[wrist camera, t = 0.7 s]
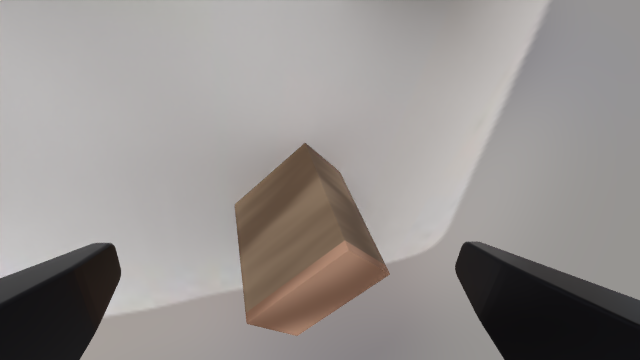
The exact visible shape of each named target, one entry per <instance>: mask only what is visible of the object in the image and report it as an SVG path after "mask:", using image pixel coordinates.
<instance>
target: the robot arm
mask: <svg viewBox="0 0 640 360" xmlns="http://www.w3.org/2000/svg"><path fill="white" fill-rule="evenodd" d="M455 270H456V274H457V277H458V279H459V280H460V282H461V284H462V286H463V289H464V291H465V292H466V295H467V297H468V299H469V300H470V303H471V305H472V306H473V308H474V311H475V313H476V314H477V316H478V318H479V320H480V321H481V323H482V325H483V326H484V328H485V330H486V331H487V333H488V334H489V336H490V337H491V339H492V341H493V342H494V344H495V345H496V347H497V349H498V350H499V352H500V353H501V355H502V356H503V358H504V360H640V300H637V299H634V298H632V297H629V296H627V295H624V294H621V293H618V292H616V291H613V290H610V289H607V288H604V287H602V286H599V285H596V284H593V283H591V282H588V281H586V280H583V279H580V278H577V277H575V276H572V275H569V274H566V273H563V272H561V271H558V270H555V269H553V268H550V267H547V266H544V265H542V264H539V263H536V262H533V261H531V260H528V259H525V258H522V257H520V256H517V255H514V254H511V253H509V252H506V251H503V250H501V249H498V248H495V247H492V246H490V245H487V244H484V243H481V242H465V243H464V244H463V245H462V247H461V250H460V253H459V256H458V259H457V262H456V265H455ZM120 277H121V268H120V264H119V260H118V256H117V252H116V248H115V246H114V245H113V244H112V243H94V244H90V245H88V246H85V247H82V248H80V249H77V250H74V251H72V252H69V253H67V254H64V255H61V256H59V257H56V258H53V259H51V260H48V261H45V262H43V263H40V264H37V265H35V266H32V267H30V268H27V269H24V270H22V271H19V272H16V273H14V274H11V275H8V276H6V277H3V278H0V360H80V358H81V356H82V355H83V353H84V351H85V350H86V348H87V346H88V345H89V343H90V341H91V339H92V337H93V336H94V334H95V332H96V330H97V328H98V326H99V324H100V322H101V320H102V318H103V316H104V313H105V311H106V309H107V307H108V305H109V302H110V300H111V298H112V296H113V294H114V291H115V289H116V287H117V285H118V283H119V280H120Z"/></svg>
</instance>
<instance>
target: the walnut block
mask: <svg viewBox="0 0 640 360" xmlns="http://www.w3.org/2000/svg"><path fill="white" fill-rule="evenodd" d="M235 213H236V223H237V233H238V243H239V253H240V263H241V272H242V282H243V292H244V302H245V312H246V322H247V324H250V325H254V326H259V327H263V328H267V329H271V330H275V331H279V332H283V333H287V334H292V335H295V336H298V335H299V334H301V333H302V332H304V331H305V330H307V329H308V328H310V327H311V326H312V325H314V324H316V323H317V322H319V321H320V320H322V319H323V318H325V317H326V316H328V315H329V314H331V313H332V312H334V311H335V310H337V309H338V308H340V307H341V306H343V305H344V304H346V303H347V302H349V301H350V300H352V299H353V298H355V297H356V296H358V295H359V294H361V293H362V292H364V291H365V290H367V289H368V288H370V287H371V286H373V285H375V284H376V283H378V282H379V281H381V280H382V279H383V278H385V277H386V276H388V275H390V273H389V271H388V269H387V267H386V265H385V263H384V261H383V259H382V257H381V255H380V253H379V251H378V249H377V247H376V245H375V243H374V241H373V239H372V237H371V235H370V233H369V231H368V228H367V226H366V224H365V222H364V220H363V218H362V216H361V214H360V212H359V210H358V208H357V206H356V204H355V202H354V200H353V198H352V196H351V194H350V192H349V190H348V188H347V186H346V184H345V182H344V179H343V177H342V175H341V173H340V172H339V171H338V170H337V169H336V168H335V167H333V166H332V165H331V164H330V163H329V162H327V161H326V160H325V159H324V158H323V157H321V156H320V155H319V154H318V153H317V152H315V151H314V150H313V149H312V148H311V147H309V146H308V145H307V144H306V143H304V144H303V145H302V146H301V147H300V148H299V149H298V150H296V151H295V152H294V153H293V154H292V155H291V156H290V157H288V158H287V159H286V160H285V161H284V162H283V163H282V164H281V165H279V166H278V167H277V168H276V169H275V170H274V171H273V172H271V173H270V174H269V175H268V176H267V177H266V178H265V179H263V180H262V181H261V182H260V183H259V184H258V185H257V186H255V187H254V188H253V189H252V190H251V191H250V192H249V193H247V194H246V195H245V196H244V197H243V198H242V199H241V200H239V201H238V202H237V203H236V204H235Z"/></svg>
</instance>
